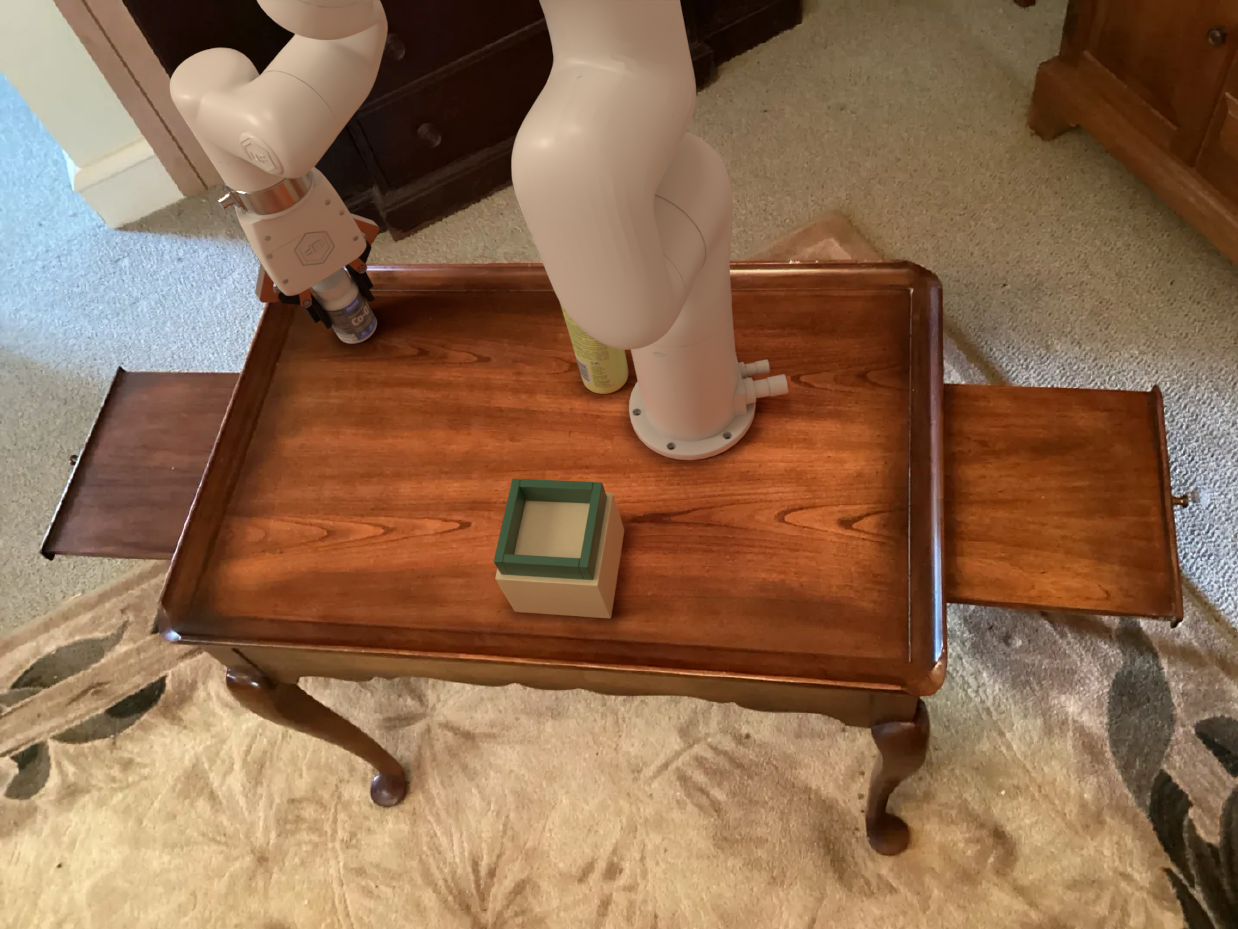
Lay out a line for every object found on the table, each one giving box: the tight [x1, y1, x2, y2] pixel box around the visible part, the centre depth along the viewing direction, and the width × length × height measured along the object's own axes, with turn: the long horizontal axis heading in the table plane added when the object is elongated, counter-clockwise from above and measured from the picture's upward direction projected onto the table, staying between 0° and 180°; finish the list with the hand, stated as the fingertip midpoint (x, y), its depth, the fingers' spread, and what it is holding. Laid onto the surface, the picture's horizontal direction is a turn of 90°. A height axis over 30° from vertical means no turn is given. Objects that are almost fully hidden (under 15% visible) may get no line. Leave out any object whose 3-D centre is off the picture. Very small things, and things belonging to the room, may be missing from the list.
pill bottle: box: [311, 267, 378, 345], centre depth 106 cm, size 5×5×8 cm
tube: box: [559, 302, 630, 395], centre depth 92 cm, size 6×5×20 cm
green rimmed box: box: [493, 478, 625, 619], centre depth 85 cm, size 9×9×10 cm
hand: (345, 306), depth 106 cm, fingers closed on pill bottle, 4 cm apart
